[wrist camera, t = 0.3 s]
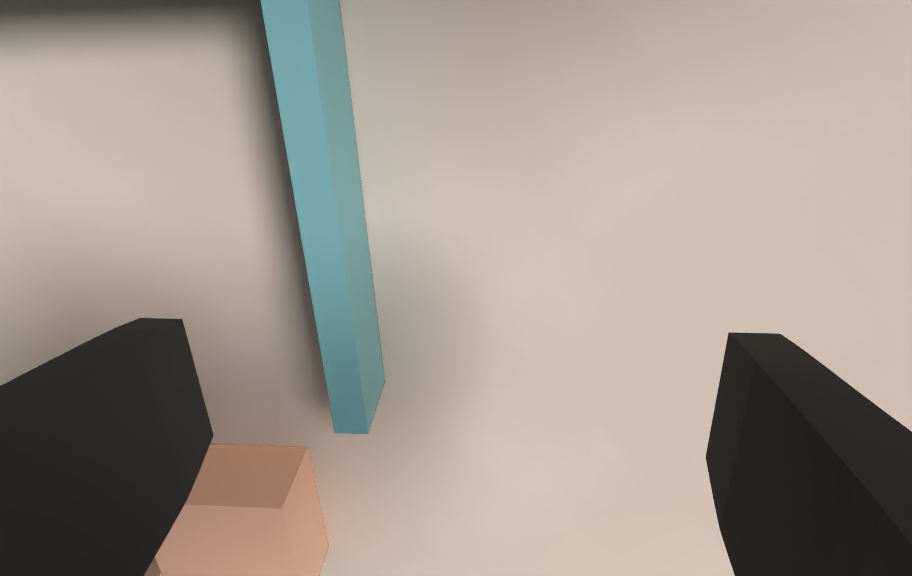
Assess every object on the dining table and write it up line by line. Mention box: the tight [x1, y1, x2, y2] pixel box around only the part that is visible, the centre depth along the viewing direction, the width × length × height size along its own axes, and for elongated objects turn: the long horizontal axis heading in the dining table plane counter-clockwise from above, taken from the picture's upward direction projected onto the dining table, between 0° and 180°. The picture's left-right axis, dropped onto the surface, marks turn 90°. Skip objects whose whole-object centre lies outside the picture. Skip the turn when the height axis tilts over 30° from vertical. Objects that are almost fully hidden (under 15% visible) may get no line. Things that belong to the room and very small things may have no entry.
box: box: [260, 0, 385, 434], centre depth 19 cm, size 13×17×2 cm
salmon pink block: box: [155, 444, 329, 576], centre depth 24 cm, size 5×5×3 cm
